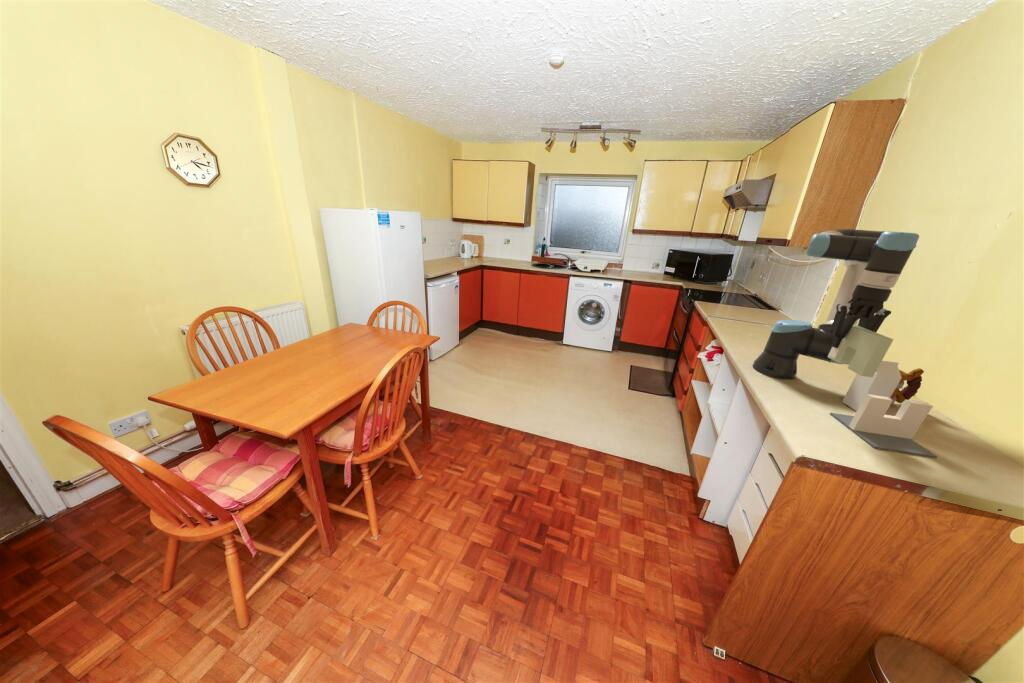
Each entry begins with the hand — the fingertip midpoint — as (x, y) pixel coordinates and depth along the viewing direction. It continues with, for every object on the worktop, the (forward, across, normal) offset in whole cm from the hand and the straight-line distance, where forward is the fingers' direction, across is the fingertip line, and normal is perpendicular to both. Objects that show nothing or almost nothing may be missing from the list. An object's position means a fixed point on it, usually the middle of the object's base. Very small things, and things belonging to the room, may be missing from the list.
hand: (839, 357), depth 106 cm
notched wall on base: (+20, +13, -10) cm, 26 cm away
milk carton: (+21, +20, +8) cm, 30 cm away
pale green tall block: (+1, 0, -4) cm, 5 cm away
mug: (+21, +34, +18) cm, 43 cm away
